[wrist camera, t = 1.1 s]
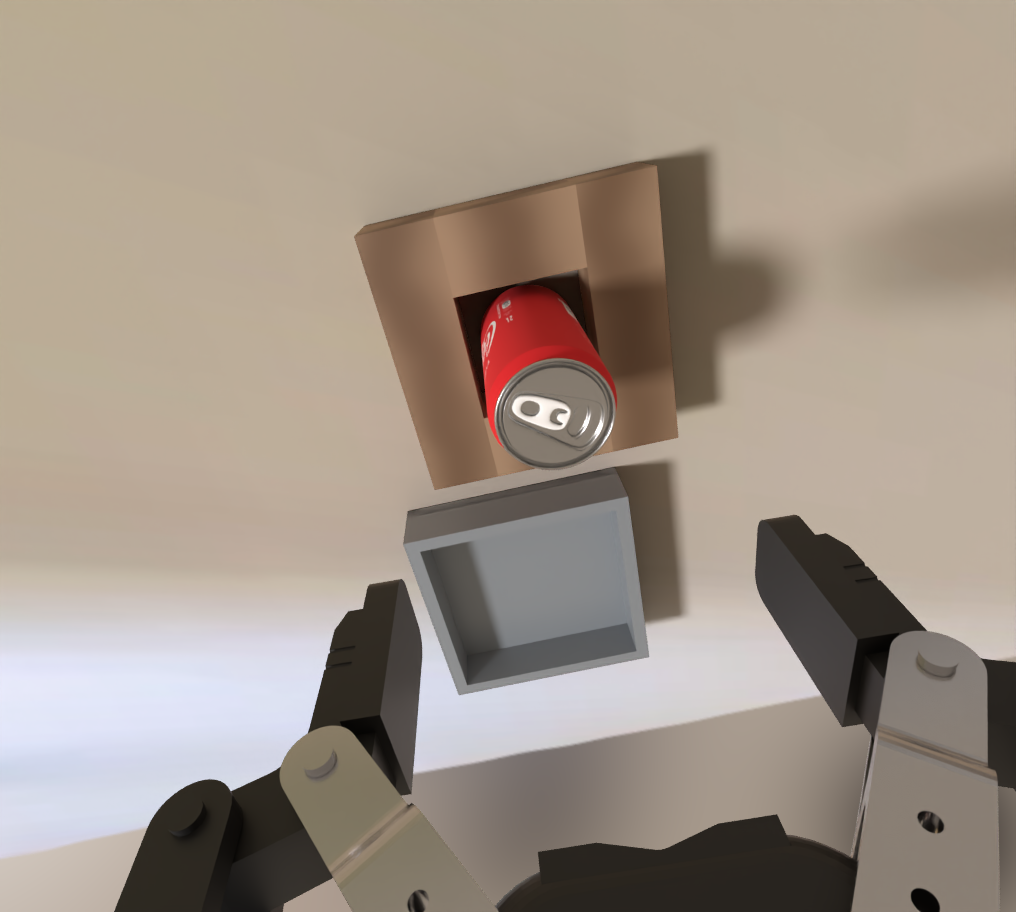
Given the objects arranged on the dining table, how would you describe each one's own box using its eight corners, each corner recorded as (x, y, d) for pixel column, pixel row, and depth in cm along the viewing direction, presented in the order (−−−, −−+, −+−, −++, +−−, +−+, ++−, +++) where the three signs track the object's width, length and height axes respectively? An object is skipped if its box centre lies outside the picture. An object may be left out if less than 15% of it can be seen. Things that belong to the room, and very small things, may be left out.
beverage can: (552, 381, 35) (591, 489, 25) (468, 356, 34) (471, 457, 24) (586, 297, 33) (644, 375, 22) (496, 266, 32) (513, 334, 21)
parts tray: (614, 467, 38) (628, 496, 35) (636, 620, 45) (649, 657, 42) (407, 511, 39) (403, 544, 36) (459, 656, 45) (458, 695, 42)
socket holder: (636, 161, 30) (657, 165, 27) (660, 411, 37) (678, 437, 34) (364, 225, 30) (354, 236, 27) (436, 460, 37) (434, 489, 34)
